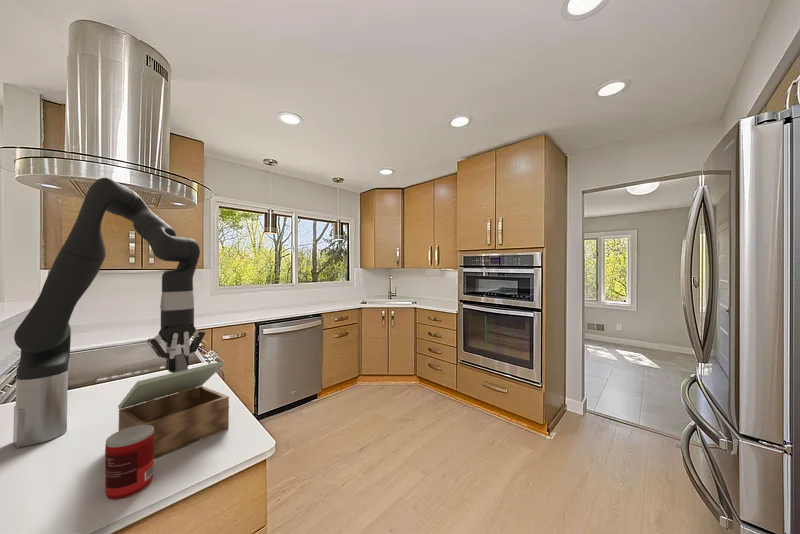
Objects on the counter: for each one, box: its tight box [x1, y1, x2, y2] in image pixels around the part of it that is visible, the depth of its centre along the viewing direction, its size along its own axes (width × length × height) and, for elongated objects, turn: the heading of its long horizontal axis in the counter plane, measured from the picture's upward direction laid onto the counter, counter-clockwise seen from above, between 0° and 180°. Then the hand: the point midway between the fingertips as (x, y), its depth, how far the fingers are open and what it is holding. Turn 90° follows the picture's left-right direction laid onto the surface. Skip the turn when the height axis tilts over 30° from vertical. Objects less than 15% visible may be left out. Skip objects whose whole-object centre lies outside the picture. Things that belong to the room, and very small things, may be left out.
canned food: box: [104, 425, 155, 500], centre depth 63 cm, size 8×8×11 cm
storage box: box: [118, 385, 230, 461], centre depth 83 cm, size 20×16×9 cm
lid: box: [117, 353, 225, 410], centre depth 85 cm, size 20×16×6 cm
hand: (177, 370), depth 83 cm, fingers closed on lid, 2 cm apart
